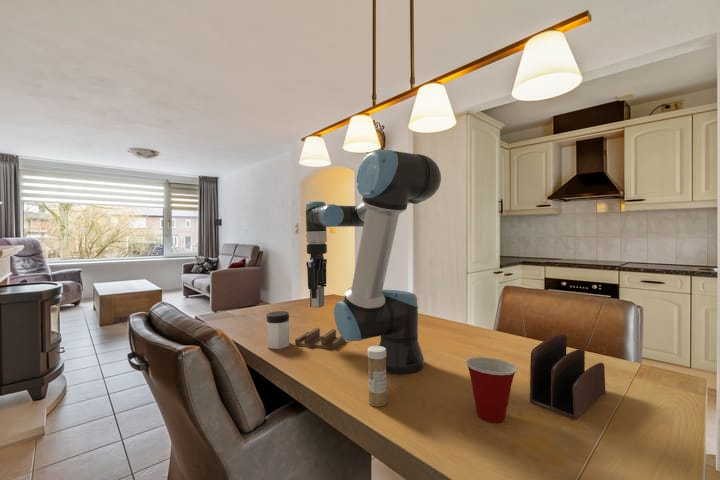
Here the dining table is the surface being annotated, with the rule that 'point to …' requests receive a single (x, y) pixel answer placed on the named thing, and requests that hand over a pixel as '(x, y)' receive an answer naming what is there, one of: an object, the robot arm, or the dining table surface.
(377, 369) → the sprinkles bottle
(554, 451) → the dining table surface
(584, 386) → the letter holder
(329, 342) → the brown slotted rack
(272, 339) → the jar
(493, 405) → the plastic cup
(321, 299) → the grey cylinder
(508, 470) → the dining table surface
